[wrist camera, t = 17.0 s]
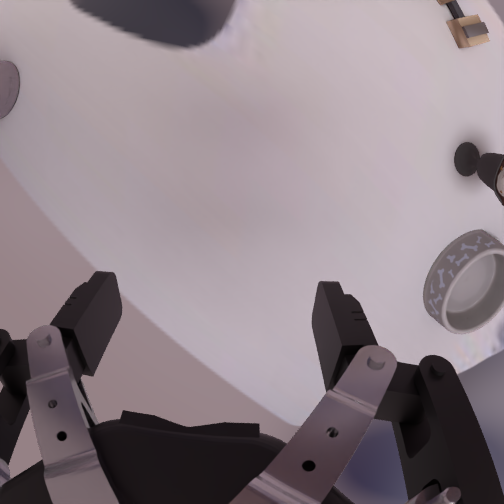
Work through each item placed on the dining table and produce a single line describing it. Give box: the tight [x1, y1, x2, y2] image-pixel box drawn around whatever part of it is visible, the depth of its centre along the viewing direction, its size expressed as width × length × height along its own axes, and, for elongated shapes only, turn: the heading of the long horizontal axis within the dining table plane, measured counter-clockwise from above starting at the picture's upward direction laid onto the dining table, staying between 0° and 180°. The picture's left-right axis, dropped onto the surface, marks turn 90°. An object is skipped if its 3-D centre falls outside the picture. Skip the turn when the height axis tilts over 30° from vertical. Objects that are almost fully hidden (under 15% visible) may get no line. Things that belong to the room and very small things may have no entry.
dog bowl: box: [423, 230, 504, 334], centre depth 41 cm, size 17×18×5 cm
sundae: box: [455, 142, 504, 206], centre depth 27 cm, size 7×7×15 cm
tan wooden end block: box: [447, 14, 490, 48], centre depth 24 cm, size 4×4×3 cm
